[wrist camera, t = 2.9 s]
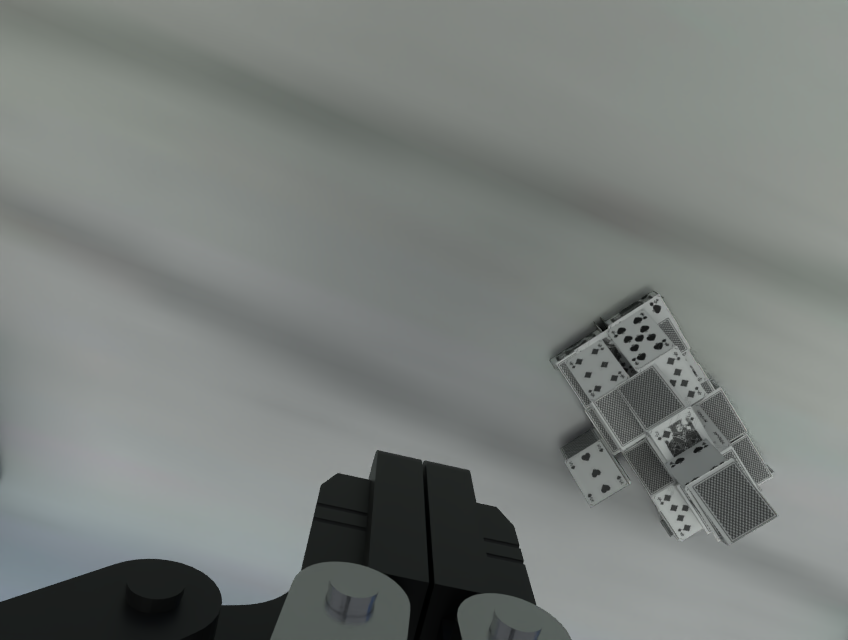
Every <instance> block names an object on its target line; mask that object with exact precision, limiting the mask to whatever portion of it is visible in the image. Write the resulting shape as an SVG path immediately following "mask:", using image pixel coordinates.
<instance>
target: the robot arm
mask: <svg viewBox="0 0 848 640" xmlns="http://www.w3.org/2000/svg"><path fill="white" fill-rule="evenodd" d="M523 562H524V560H523V556H522V553H521V549H519V542H518V539H517V535H516V532H515V528H514V526H513V525H512V523H511V522H510V521H509V520H508V519H507V518H506V517H505V516H504V515H503V514H502V513H501V511H500V510H499V509H498V508H497V507H494V506H489V505H484V504H480V503H476V499H475V494H474V489H473V484H472V479H471V474H470V471H469V470H466V469H461V468H457V467H452V466H448V465H443V464H439V463H434V462H429V461H424V462H423V464H422V460H420V459H415V458H411V457H406V456H401V455H397V454H392V453H388V452H383V451H379V450H377V451H376V454H375V457H374V460H373V464H372V468H371V472H370V476H369V480H368V479H363V478H358V477H354V476H349V475H344V474H340V473H337V474H336V475H334V476H333V477H332V478H330V479H329V480H327V481H326V482H325V483H323V484H322V485H321V487H320V492H319V496H318V500H317V504H316V509H315V513H314V517H313V522H312V526H311V530H310V534H309V539H308V543H307V547H306V552H305V556H304V560H303V564H302V569H301V571H300V572H299V573H298V574H297V575H296V577H295V578H294V580H293V582H292V585H291V587H290V590H289V592H287V593H286V594H284V595H282V596H280V597H278V598H276V599H273V600H270V601H267V602H263V603H258V604H251V605H221V604H222V598H221V593H220V591H219V588H218V587H217V586H216V584H215V583H214V582H213V581H212V580H211V579H210V578H209V577H208V576H207V575H205V574H204V573H202V572H201V571H199V570H197V569H195V568H193V567H191V566H188V565H185V564H182V563H178V562H174V561H169V560H161V559H138V560H131V561H125V562H121V563H118V564H114V565H111V566H108V567H105V568H102V569H99V570H96V571H93V572H90V573H87V574H84V575H81V576H78V577H75V578H72V579H69V580H66V581H63V582H60V583H57V584H54V585H51V586H48V587H45V588H41V589H38V590H35V591H32V592H29V593H26V594H23V595H20V596H17V597H14V598H11V599H8V600H5V601H2V602H0V640H571V637H570V636H569V634H568V632H567V630H566V629H565V628H564V627H563V625H562V624H561V623H560V622H559V621H558V620H557V619H556V618H554V617H553V616H552V615H551V614H549V613H548V612H546V611H545V610H543V609H542V608H540V607H538V606H536V602H535V599H534V595H533V592H532V588H531V585H530V581H529V577H528V574H527V570H526V567H525V565H524V564H523Z"/></svg>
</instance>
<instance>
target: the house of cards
mask: <svg viewBox="0 0 848 640" xmlns="http://www.w3.org/2000/svg"><path fill="white" fill-rule="evenodd" d="M601 319H602V318H601ZM602 321H603V322H604V324H605V325H606V327H607V328H608V329H606V330H605V331H602V330H601V329H600V328H599V327H598V326H597V324H596V323H595V322H594V321H593V322H594V323H595V325H596V326H597V328H598V329H599V330H596V331H595V332H593V333H591V334H590V335H588V336H587V337H585V338H584V339H582V340H580V341H579V342H577V343H576V344H574V345H573V346H571V347H569V348H568V349H566V350H565V351H563V352H561V353H560V354H558V355H557V356H555V357H554V358H552V359H550V361H551V363H552V365H553V366H554V368H555V370H556V369H557V368H559V369H560V371H561V372H562V374H563V375H564V377H565V378H566V380H567V382H568V383H569V385H570V386H571V388H572V389H573V391H574V392H575V394H576V395H577V397H578V398H579V400H580V401H581V403H582V404H583V406H584V407H585V409H587V408H589V407H591V408H589V409H588V410H586V411H585V413H586V414H587V416H588V417H589V419H590V420H591V422H592V423H593V425H594V426H595V428H596V429H597V431H598V432H599V434H600V435H601V437H602V438H603V439H601V437H600V436H599V434H598V432H597V431H596V429H595V428H593V429H591V430H589V431H588V432H586V433H585V434H583V435H581V436H580V437H578V438H577V439H575V440H573V441H572V442H570V443H568V444H567V445H565V446H564V447H562V448H560V449H561V451H562V453H563V456H564V458H565V460H566V461H564V462H565V464H566V466H567V468H568V469H569V471H570V473H571V474H572V476H573V478H574V480H575V481H576V483H577V485H578V486H579V488H580V490H581V492H582V493H583V495H584V497H585V499H586V500H587V502H588V504H589V505H590V507H593V506H595V505H596V504H598V503H600V502H601V501H603V500H605V499H606V498H608V497H610V496H611V495H613V494H614V493H616V492H618V491H619V490H621V489H623V488H624V487H626V486H628V485H629V484H631V482H630V479H629V478H628V476H627V475H626V473H625V471H624V470H623V468H622V467H621V465H620V464H619V462H618V461H616V459H615V458H614V456H613V455H616V454H618V453H619V452H622V454H623V455H624V457H625V459H626V460H627V462H628V463H629V465H630V466H631V468H632V469H633V471H634V472H635V474H636V475H637V477H638V478H639V480H640V481H641V483H642V484H643V486H644V487H645V489H646V490H647V492H648V495H649V496H650V498H651V499H652V501H653V502H654V504H655V505H656V507H657V508H658V512H659V513H660V515H661V517H662V518H663V520H662V521H661V523H662V525H663V526H664V528H665V530H666V531H667V533H668V534H669V536H670V537H671V536H672V535H674V536H675V538H676V539H677V541H679V540H680V541H681V542H682V541H684V540H685V539H687V538H689V537H690V536H692V535H694V534H695V533H697V532H699V531H701V530H702V529H704V530H705V531H706V533H707V534H710V533H711V532H712V533H713V534H714V536H715V537H716V539H717V540H718V542H720V541H723V542H724V543H725V544H727V545H730V544H732V543H734V542H735V541H737V540H739V539H740V538H742V537H744V536H745V535H747V534H749V533H751V532H752V531H754V530H756V529H757V528H759V527H761V526H763V525H764V524H766V523H768V522H769V521H771V520H773V519H774V518H776V517H778V515H777V513H776V512H775V511H774V510H773V508H772V507H771V506H770V505H769V503H768V502H767V501H766V500H765V498H764V497H763V496H762V495H761V493H760V491H762V490H761V489H760V487H759V485H761V484H762V483H764V482H766V481H767V480H769V479H771V478H772V477H773V476H772V474H771V473H772V472H774V471H773V470H772V469H771V468H770V467H769V466H768V465H766V464H765V462H764V461H763V459H762V458H761V456H760V454H759V453H758V451H757V449H756V448H755V446H754V444H753V443H752V441H751V439H750V438H749V436H748V434H745V433H746V432H748V431H747V429H746V427H745V426H744V424H743V422H742V421H741V419H740V417H739V416H738V414H737V412H736V411H735V409H734V407H733V406H732V404H731V402H730V401H729V399H728V397H727V396H726V394H725V392H724V391H723V389H722V388H721V387H718V386H717V385H716V384H715V383H714V382H712V381H711V380H710V379H708V377H707V375H706V374H705V372H704V370H703V369H702V367H701V365H700V364H699V363H698V364H697V362H696V360H695V359H694V357H693V355H692V354H691V352H690V351H689V349H691V347H690V345H689V344H688V342H687V340H686V339H685V337H684V336H683V334H682V332H681V331H680V329H681V328H680V327H679V325H678V323H677V322H676V320H675V318H674V317H673V315H672V314H671V312H670V310H669V309H668V307H667V305H666V304H665V302H664V300H663V297H662V296H661V295H660V294H657V293H656V292H654V291H653V292H651V293H649V294H648V295H646V296H645V297H643V298H642V299H640V300H638V301H637V302H635V303H634V304H632V305H631V306H629V307H627V308H626V309H624V310H623V311H621V312H620V313H618V314H616V315H615V316H613V317H612V318H610V319H608V320H607V321H604V320H603V319H602ZM743 434H745V435H744V436H742V437H741V435H743ZM603 440H604V441H605V442H604V441H603ZM605 443H606V444H605ZM606 445H607V446H608V447H607V446H606ZM608 448H609V449H610V450H609V449H608ZM610 451H611V452H612V453H611V452H610ZM612 454H613V455H612Z"/></svg>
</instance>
